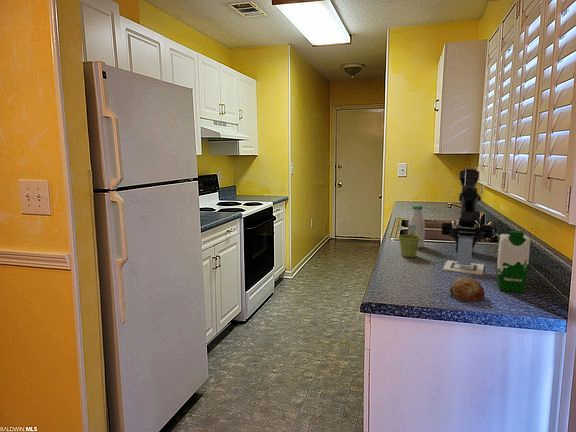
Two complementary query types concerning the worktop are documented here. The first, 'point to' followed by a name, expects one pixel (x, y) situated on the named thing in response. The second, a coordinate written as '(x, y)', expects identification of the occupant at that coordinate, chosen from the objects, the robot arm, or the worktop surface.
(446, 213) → the worktop surface
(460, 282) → the bread roll
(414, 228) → the milk bottle
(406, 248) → the plant pot
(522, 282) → the milk carton
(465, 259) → the blue block
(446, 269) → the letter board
